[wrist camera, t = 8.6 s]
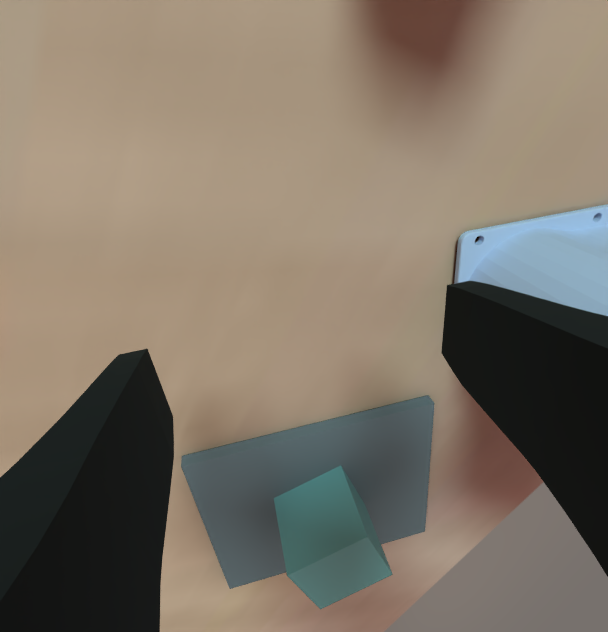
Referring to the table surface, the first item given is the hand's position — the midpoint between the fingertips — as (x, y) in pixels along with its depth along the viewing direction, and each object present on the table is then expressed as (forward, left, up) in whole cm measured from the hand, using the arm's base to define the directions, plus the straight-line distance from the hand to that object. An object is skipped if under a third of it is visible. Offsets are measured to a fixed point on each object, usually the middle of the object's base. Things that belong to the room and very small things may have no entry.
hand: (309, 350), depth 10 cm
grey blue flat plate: (-1, +20, -10) cm, 23 cm away
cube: (-1, +20, -10) cm, 22 cm away
